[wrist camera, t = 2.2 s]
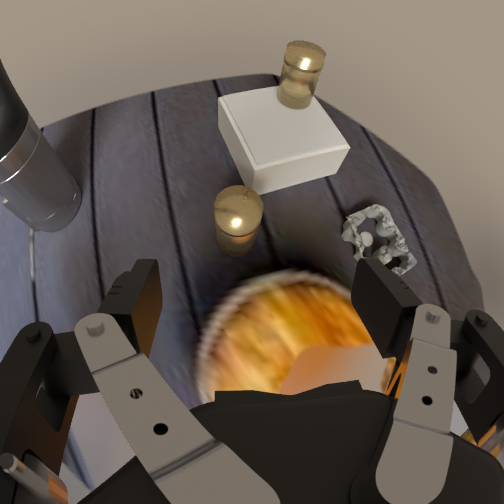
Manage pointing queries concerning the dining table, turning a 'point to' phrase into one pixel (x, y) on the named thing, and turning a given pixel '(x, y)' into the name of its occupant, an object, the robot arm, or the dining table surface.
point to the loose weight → (237, 219)
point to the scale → (278, 140)
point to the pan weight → (300, 74)
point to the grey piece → (383, 229)
